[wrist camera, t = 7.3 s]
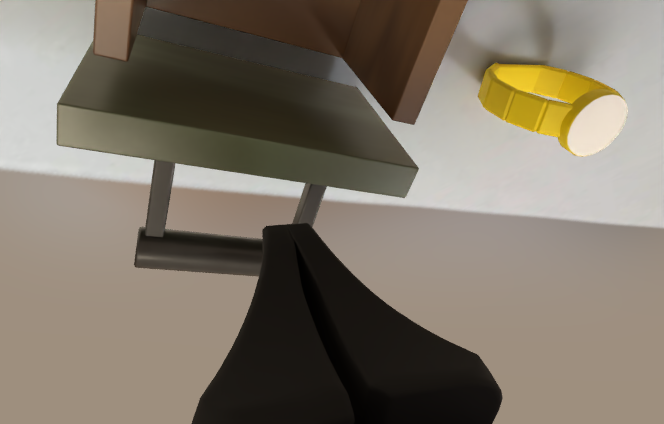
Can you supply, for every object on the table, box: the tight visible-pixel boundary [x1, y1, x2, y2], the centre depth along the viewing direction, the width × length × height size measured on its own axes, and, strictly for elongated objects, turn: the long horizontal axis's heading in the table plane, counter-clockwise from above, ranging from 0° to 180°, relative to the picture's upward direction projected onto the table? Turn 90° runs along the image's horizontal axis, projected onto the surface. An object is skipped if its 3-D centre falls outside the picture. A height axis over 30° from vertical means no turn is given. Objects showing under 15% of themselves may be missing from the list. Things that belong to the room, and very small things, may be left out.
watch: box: [478, 63, 628, 157], centre depth 21 cm, size 6×3×6 cm, turn 82°
